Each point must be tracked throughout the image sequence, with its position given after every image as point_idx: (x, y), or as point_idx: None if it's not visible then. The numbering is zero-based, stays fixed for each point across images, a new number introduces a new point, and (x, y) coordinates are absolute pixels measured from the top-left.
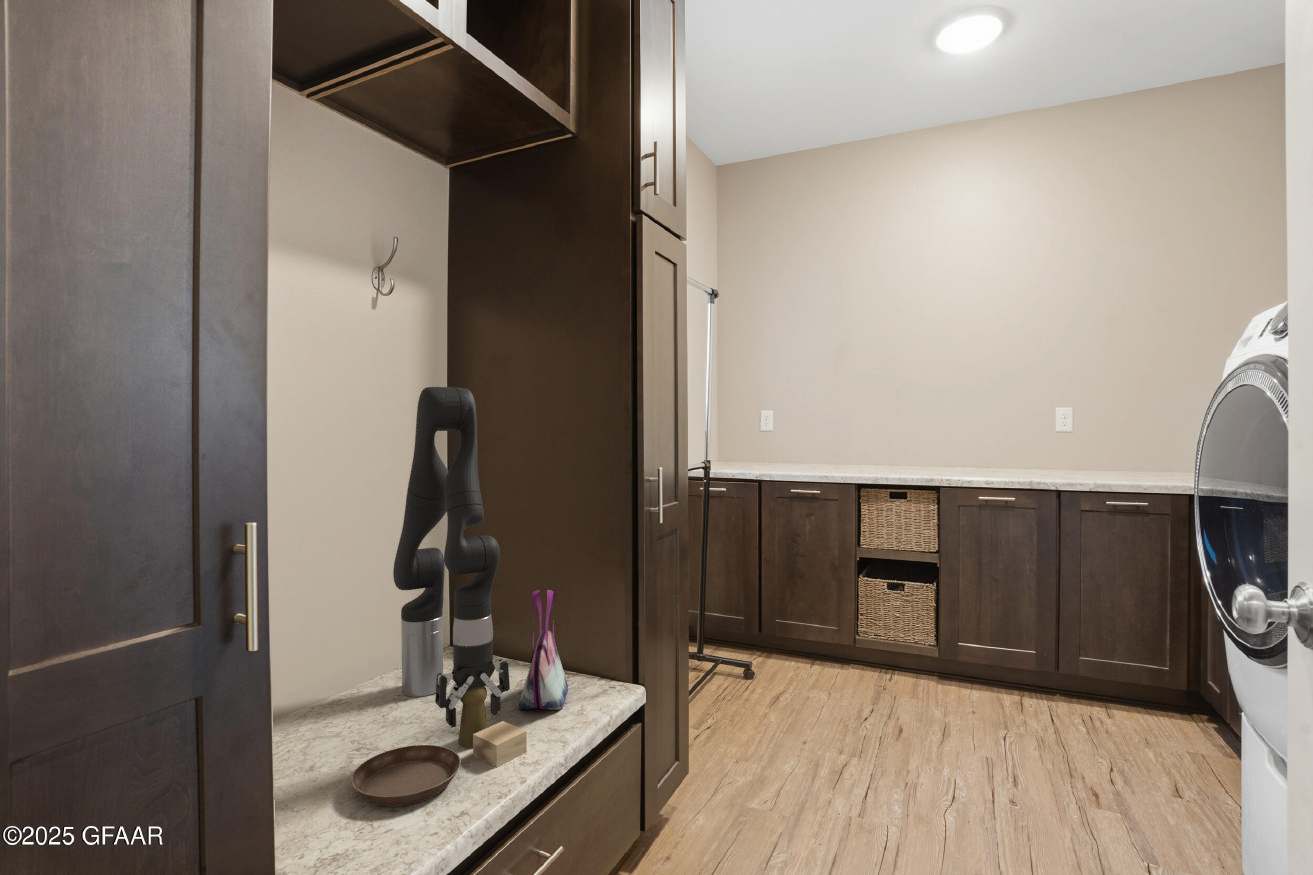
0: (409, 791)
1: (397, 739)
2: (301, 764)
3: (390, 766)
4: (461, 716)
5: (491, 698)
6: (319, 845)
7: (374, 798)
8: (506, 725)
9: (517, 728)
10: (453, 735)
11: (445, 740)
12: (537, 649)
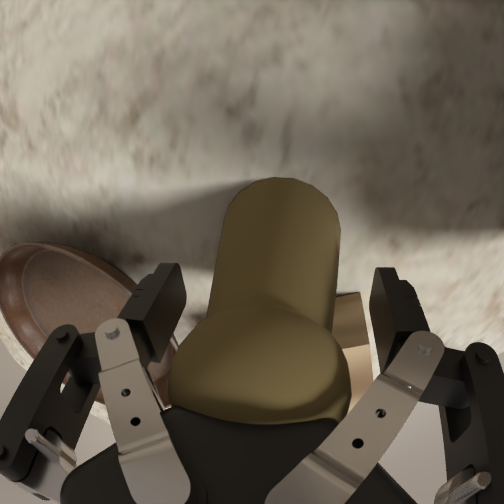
0: None
1: (54, 79)
2: None
3: (47, 249)
4: (211, 289)
5: (388, 328)
6: (29, 361)
7: None
8: (357, 372)
9: None
10: (226, 144)
11: (188, 168)
12: None
